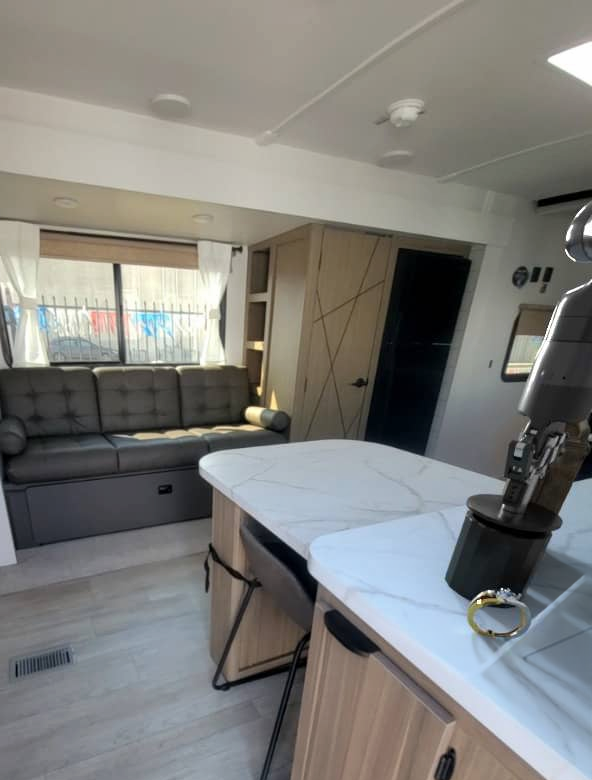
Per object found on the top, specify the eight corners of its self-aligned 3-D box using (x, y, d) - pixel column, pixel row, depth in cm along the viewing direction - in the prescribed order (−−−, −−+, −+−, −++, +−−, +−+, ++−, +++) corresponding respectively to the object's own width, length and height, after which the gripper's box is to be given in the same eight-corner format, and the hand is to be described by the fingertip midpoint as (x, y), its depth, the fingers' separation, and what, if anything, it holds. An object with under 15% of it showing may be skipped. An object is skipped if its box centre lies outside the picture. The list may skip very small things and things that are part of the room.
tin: (463, 564, 73) (486, 501, 67) (531, 596, 65) (564, 527, 59) (431, 583, 67) (453, 516, 62) (501, 620, 59) (534, 546, 54)
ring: (460, 636, 56) (478, 589, 52) (459, 622, 58) (477, 576, 55) (520, 655, 53) (544, 606, 50) (517, 639, 56) (539, 592, 52)
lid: (486, 495, 67) (501, 453, 64) (572, 523, 59) (594, 476, 56) (450, 510, 61) (464, 465, 58) (539, 544, 53) (562, 493, 50)
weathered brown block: (487, 526, 86) (532, 408, 75) (536, 539, 82) (590, 415, 71) (476, 564, 73) (529, 426, 62) (534, 582, 68) (601, 437, 57)
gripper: (581, 388, 45) (524, 524, 53) (619, 380, 52) (564, 502, 60) (507, 379, 51) (465, 504, 58) (550, 373, 58) (508, 485, 65)
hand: (515, 502), depth 59 cm, fingers closed on lid, 3 cm apart
